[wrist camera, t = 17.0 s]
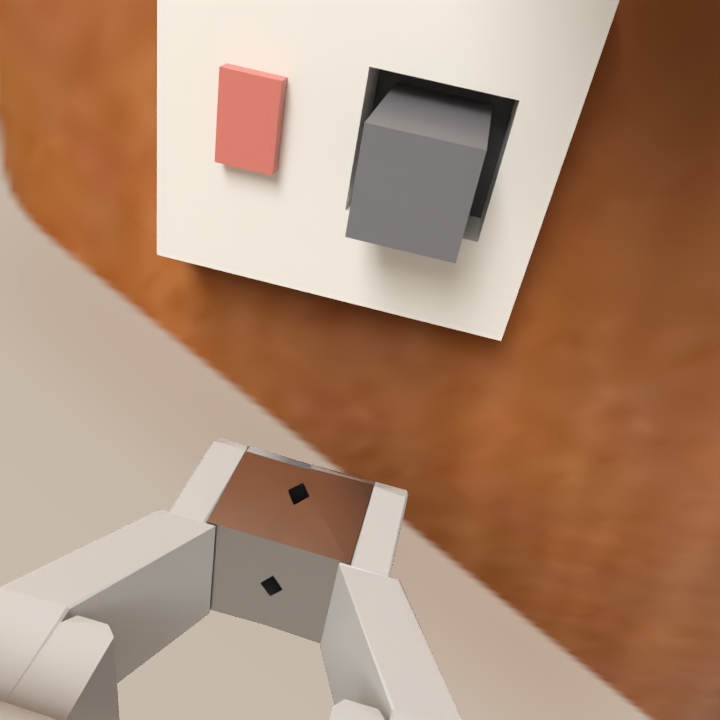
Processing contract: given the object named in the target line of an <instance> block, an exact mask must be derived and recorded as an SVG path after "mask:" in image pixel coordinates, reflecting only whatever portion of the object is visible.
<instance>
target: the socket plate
mask: <svg viewBox="0 0 720 720" xmlns="http://www.w3.org/2000/svg"><path fill="white" fill-rule="evenodd" d="M619 1H620V0H157V255H160V256H164V257H168V258H172V259H176V260H180V261H184V262H188V263H192V264H196V265H200V266H204V267H208V268H212V269H216V270H220V271H224V272H228V273H232V274H236V275H240V276H244V277H248V278H252V279H256V280H260V281H264V282H268V283H272V284H276V285H280V286H284V287H288V288H292V289H296V290H300V291H304V292H308V293H312V294H316V295H320V296H324V297H327V298H331V299H335V300H339V301H343V302H347V303H351V304H355V305H359V306H363V307H367V308H371V309H375V310H379V311H383V312H387V313H391V314H395V315H399V316H403V317H407V318H411V319H415V320H419V321H423V322H427V323H431V324H435V325H439V326H443V327H447V328H451V329H455V330H459V331H463V332H467V333H471V334H475V335H479V336H483V337H487V338H491V339H495V340H499V341H501V340H502V337H503V334H504V331H505V328H506V326H507V323H508V320H509V317H510V314H511V311H512V308H513V305H514V303H515V300H516V297H517V294H518V291H519V288H520V285H521V282H522V280H523V277H524V274H525V271H526V268H527V265H528V262H529V259H530V257H531V254H532V251H533V248H534V245H535V242H536V239H537V236H538V234H539V231H540V228H541V225H542V222H543V219H544V216H545V213H546V211H547V208H548V205H549V202H550V199H551V196H552V193H553V190H554V188H555V185H556V182H557V179H558V176H559V173H560V170H561V167H562V165H563V162H564V159H565V156H566V153H567V150H568V147H569V144H570V141H571V139H572V136H573V133H574V130H575V127H576V124H577V121H578V118H579V116H580V113H581V110H582V107H583V104H584V101H585V98H586V95H587V93H588V90H589V87H590V84H591V81H592V78H593V75H594V72H595V70H596V67H597V64H598V61H599V58H600V55H601V52H602V49H603V47H604V44H605V41H606V38H607V35H608V32H609V29H610V26H611V24H612V21H613V18H614V15H615V12H616V9H617V6H618V3H619ZM396 83H400V84H404V85H409V86H413V87H418V88H422V89H427V90H431V91H436V92H440V93H444V94H449V95H453V96H458V97H462V98H467V99H471V100H476V101H480V102H485V103H489V104H493V106H492V114H491V121H490V129H489V137H488V145H487V151H486V155H485V159H484V162H483V166H482V170H481V173H480V177H479V180H478V184H477V188H476V191H475V195H474V198H473V202H472V206H471V209H470V213H469V217H468V220H467V224H466V227H465V231H464V235H463V238H462V242H461V246H460V249H459V253H458V256H457V260H456V263H451V262H447V261H443V260H439V259H435V258H431V257H426V256H422V255H418V254H414V253H410V252H406V251H402V250H397V249H393V248H389V247H385V246H381V245H377V244H373V243H368V242H364V241H360V240H356V239H352V238H348V237H345V235H346V229H347V223H348V217H349V211H350V205H351V199H352V193H353V187H354V181H355V175H356V170H357V164H358V158H359V152H360V146H361V140H362V134H363V128H364V122H365V121H366V120H367V119H368V117H369V116H370V115H371V114H372V112H373V111H374V110H375V109H376V107H377V106H378V105H379V104H380V103H381V101H382V100H383V99H384V98H385V96H386V95H387V94H388V93H389V91H390V90H391V89H392V88H393V86H394V85H395V84H396Z"/></svg>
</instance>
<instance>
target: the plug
mask: <svg viewBox="0 0 720 720" xmlns="http://www.w3.org/2000/svg"><path fill="white" fill-rule="evenodd" d="M492 106H493V104H489V103H485V102H480V101H476V100H471V99H467V98H462V97H458V96H453V95H449V94H444V93H440V92H436V91H431V90H427V89H422V88H418V87H413V86H409V85H404V84H400V83H396V84H395V85H394V86H393V88H392V89H391V90H390V91H389V93H388V94H387V95H386V96H385V98H384V99H383V100H382V101H381V103H380V104H379V105H378V106H377V107H376V109H375V110H374V111H373V112H372V114H371V115H370V116H369V117H368V119H367V120H366V121H365V122H364V128H363V134H362V140H361V146H360V152H359V158H358V164H357V170H356V175H355V181H354V187H353V193H352V199H351V205H350V211H349V217H348V223H347V229H346V235H345V237H348V238H352V239H356V240H360V241H364V242H368V243H373V244H377V245H381V246H385V247H389V248H393V249H397V250H402V251H406V252H410V253H414V254H418V255H422V256H426V257H431V258H435V259H439V260H443V261H447V262H451V263H456V260H457V256H458V253H459V249H460V246H461V242H462V238H463V235H464V231H465V227H466V224H467V220H468V217H469V213H470V209H471V206H472V202H473V198H474V195H475V191H476V188H477V184H478V180H479V177H480V173H481V170H482V166H483V162H484V159H485V155H486V151H487V145H488V137H489V129H490V121H491V114H492Z"/></svg>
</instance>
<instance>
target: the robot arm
mask: <svg viewBox="0 0 720 720" xmlns="http://www.w3.org/2000/svg"><path fill="white" fill-rule="evenodd" d="M373 486H374V488H373ZM372 491H373V492H372ZM407 498H408V494H407V490H404V489H400V488H396V487H393V486H389V485H385V484H382V483H378V482H375V485H374V482H373V481H370V480H366V479H363V478H359V477H355V476H352V475H348V474H344V473H341V472H337V471H333V470H330V469H326V468H322V467H318V466H315V465H310V464H307V463H304V462H300V461H297V460H294V459H290V458H287V457H284V456H281V455H278V454H274V453H271V452H268V451H265V450H262V449H258V448H255V447H252V446H251V447H249V446H246V445H243V444H240V443H236V442H233V441H230V440H227V439H224V438H221V437H219V438H218V439H217V440H215V441H214V442H213V443H212V444H211V445H210V447H209V449H208V450H207V452H206V453H205V455H204V457H203V458H202V460H201V461H200V463H199V464H198V466H197V468H196V469H195V471H194V472H193V474H192V475H191V477H190V479H189V480H188V482H187V483H186V485H185V486H184V488H183V490H182V491H181V493H180V494H179V496H178V497H177V499H176V501H175V503H174V504H173V505H172V507H171V509H170V510H169V512H167V511H163V510H160V509H158V510H156V511H154V512H152V513H150V514H148V515H146V516H144V517H142V518H140V519H138V520H136V521H134V522H132V523H130V524H128V525H126V526H124V527H122V528H120V529H118V530H116V531H113V532H112V533H109V534H108V535H105V536H103V537H101V538H99V539H97V540H95V541H93V542H91V543H89V544H87V545H85V546H83V547H81V548H79V549H77V550H75V551H73V552H71V553H69V554H67V555H65V556H63V557H60V558H58V559H56V560H54V561H52V562H50V563H48V564H46V565H44V566H42V567H40V568H38V569H36V570H34V571H32V572H30V573H28V574H26V575H24V576H22V577H20V578H18V579H16V580H14V581H11V582H9V583H7V584H5V585H3V586H2V587H0V720H119V708H118V692H117V683H118V682H120V681H121V680H122V679H123V678H125V677H126V676H127V675H129V674H130V673H131V672H133V671H134V670H135V669H136V668H138V667H139V666H141V665H142V664H143V663H145V662H146V661H147V660H149V659H150V658H151V657H152V656H154V655H155V654H156V653H158V652H159V651H160V650H162V649H163V648H164V647H166V646H167V645H168V644H169V643H171V642H172V641H174V640H175V639H176V638H177V637H179V636H180V635H181V634H183V633H184V632H185V631H186V630H188V629H189V628H191V627H192V626H193V625H195V624H196V623H197V622H199V621H200V620H201V619H202V618H204V617H205V616H206V615H208V614H209V612H210V610H214V611H218V612H221V613H225V614H228V615H232V616H235V617H239V618H243V619H247V620H250V621H254V622H257V623H261V624H264V625H267V626H270V627H273V628H276V629H279V630H282V631H285V632H288V633H291V634H294V635H297V636H300V637H304V638H306V639H309V640H312V641H315V642H318V643H321V644H320V648H321V652H322V656H323V660H324V664H325V668H326V672H327V676H328V680H329V685H330V689H331V692H332V697H333V701H334V706H333V708H332V711H331V714H330V718H329V720H462V719H461V717H460V714H459V712H458V710H457V708H456V705H455V703H454V701H453V699H452V696H451V694H450V692H449V690H448V687H447V685H446V683H445V681H444V678H443V676H442V674H441V672H440V669H439V667H438V665H437V663H436V661H435V658H434V656H433V654H432V652H431V649H430V647H429V645H428V643H427V641H426V638H425V636H424V634H423V631H422V629H421V627H420V625H419V623H418V620H417V618H416V616H415V614H414V611H413V609H412V607H411V605H410V602H409V600H408V598H407V596H406V593H405V591H404V589H403V587H402V584H401V582H400V581H399V580H397V579H393V578H391V577H390V574H391V570H392V565H393V561H394V556H395V552H396V547H397V542H398V538H399V534H400V529H401V525H402V520H403V516H404V511H405V507H406V502H407Z"/></svg>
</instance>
